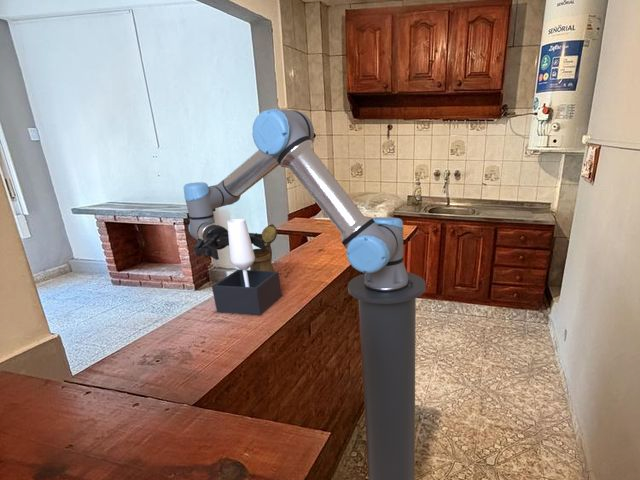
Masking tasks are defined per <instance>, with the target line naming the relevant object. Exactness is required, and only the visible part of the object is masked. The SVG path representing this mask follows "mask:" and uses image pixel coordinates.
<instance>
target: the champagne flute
mask: <svg viewBox="0 0 640 480" xmlns="http://www.w3.org/2000/svg"><path fill="white" fill-rule="evenodd" d="M226 223H227V230H228V237H229V246H228V248H229V260H230V263H231V264H232V265H233V266H234V267H236V268H237V269H238V270H243V276H244V281H245V287H250V286H249V280H248V274H247V270H249V269H250V266H251V265H252V264H253V262H254V260H255V255H254V251H253V249H254V248H253V244H252V243H251V240H250V236H249V233H250V232H249V228H248V224H247V220H246V219H245V218H232V219H229V220H227V222H226Z"/></svg>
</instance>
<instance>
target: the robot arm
mask: <svg viewBox="0 0 640 480" xmlns="http://www.w3.org/2000/svg"><path fill="white" fill-rule="evenodd" d="M251 134H252V139H253V143H254V144H255V146H256V148H257V149H258V150H256V151H255V152H254V153H253V154H252V155H251V156H250V157H248V158H246V160H245V161H243V162H242V163H241V164H240V165H238V166H237V167H236V168H235V169H234V170H233V171H232V172H230V173H229V174H228V175H227V176H226V177H224V179H223V180H221V181H220V182H219V183H217V184H214V185H210V186H209V185H208V183H206V182H203V181H199V182H198V181H197V182H188V183H186V184H184V185H183V194H184V200H185V204H186V208H187V213H188V217H189V223H188V232H189V234H190V235H191V236H192V237H193V238H194V239H195V240H196V244H195V245H194V246H193V251H194V255H195V256H196V257H198V256H201V255H202V256H203V257H202V258H208V257H211V258H213V259H214V260H215V261H219V260H220V257H219V253H218V250H223V249H225V248H227V247H229V237H228V228H225V227H224V226H222V225H219V224H217V223H216V222H215V214H214V210H215V209H219V208H222V207H226V206H230V205H233V204H235V203H237V202H239V201H240V199H241V196H242V195H243V194H245V193H246V192H247V191H248V190H249V189H251V188H252V187H253V186H254V185H256V184H258V183H259V182H260V181H261V180H262V179H264V177H266V176H268V175H269V174H270V173H271V172H272V171H274V170H275V169H276V168H278V167H279V166H280V168H285V169H289V170H290V171H291V173H292V174H293V175H294V176H295V178H296V179H297V180H298V181H299V182H300V184H301V185H302V186H303V187H304V189H305V190H306V192H307V193H308V194H309V195H310V196H311V198H312V199H313V200H314V202H315V203H316V204H317V205H318V207H319V208H320V209H321V211H323V213H324V214H325V216H326V217H327V219H329V220H330V222H331V223H332V224H333V226H334V227H335V228H336V229H337V231H338V232H339V233H340V235H341V238H340V243H341V244H342V245H343V246H344V247H345V249H346V259H347V261H348V263H349V265H350V266H351V267H352V268H354V269H355V270H356V271H357V272H360V273H362V274H365V280H364V284H365V287H366V288H368V289H369V290H372V291H376V292H395V291H399V290H402V289H404V288H406V287H407V286H408V285H409V283H410V284H411V285H412V284H413V282H412V281H410V280H409V278H408V275H407V272H408V271H407V268H406V266H405V264H404V263H405V262H404V222H403V219H401V218H399V217H391V216H389V217H388V216H376V217H372V216H365V215H364V214H363V212H362V211H361V210H360V209H359V208H358V207H357V205H356V204H355V202H354V201H353V200H352V199H351V197H350V196H349V195H348V194H347V192H346V191H345V190H344V188H343V187H342V186H341V185H340V183H339V182H338V180H337V179H336V178H335V177H334V176H333V174H332V173H331V171H330V170H329V169H328V168H327V166H326V165H325V164H324V163H323V161H322V160H321V159H320V157H319V156H318V155H317V154H316V152H315V151H314V150H313V146H314V141H313V140H314V138H315V129H314V125H313V122H312V121H311V119H310V118H309V117H308V116H307V115H306V114H304V112H301V111H299V110H295V109H291V110H290V109H289V110H288V109H278V108H271V109H266V110H263V111H261V112H260V113H258V115H257V116H256V117H255V119H254V121H253V124H252V133H251ZM249 236H250V240H251V243H252V246H254V247H257V248H258V249H265V244H264V240H263V238H262V233H257V232H249Z"/></svg>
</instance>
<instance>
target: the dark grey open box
mask: <svg viewBox="0 0 640 480" xmlns="http://www.w3.org/2000/svg"><path fill="white" fill-rule="evenodd" d="M247 274H248V280H249V286H250V287H245V281H244V276H243V270H241V269H237V270H235V271H233V272H231V273H230V274H229V275H227V276H225V277H223V278H222V279H220V280H219V281H217V282H216V283H214V284H213V285H211V290H212V295H213V298H214V304H215V309H216V313H228V314H242V315H254V316H261V315H263V313H265V312H266V311H267V310H268V309H269V308H270V307H271V306H272V305H273V304H274V303H276V301H278V300H279V299H280V298H281V297H282V288H281V282H280V273H279V271H275V270H274V271H254V270H250V269H247Z"/></svg>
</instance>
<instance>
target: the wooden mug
mask: <svg viewBox="0 0 640 480" xmlns="http://www.w3.org/2000/svg"><path fill="white" fill-rule="evenodd" d="M261 234H262V238H263V240H264V244H265V249H261V248H253V251H254V255H255V260H254V262H253V264H252V265H251V266H250V267H249V270H254V271H275V269H274V266H273V263H272V259H273V250H272V246H271V244H273V242H274V241H275V240H276V238H277V236H278V229H277V227H276V226H275V224H273V223H271V224H269V225H267V226H266V227H265V228H264V229H263V230H262V231H261Z"/></svg>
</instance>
